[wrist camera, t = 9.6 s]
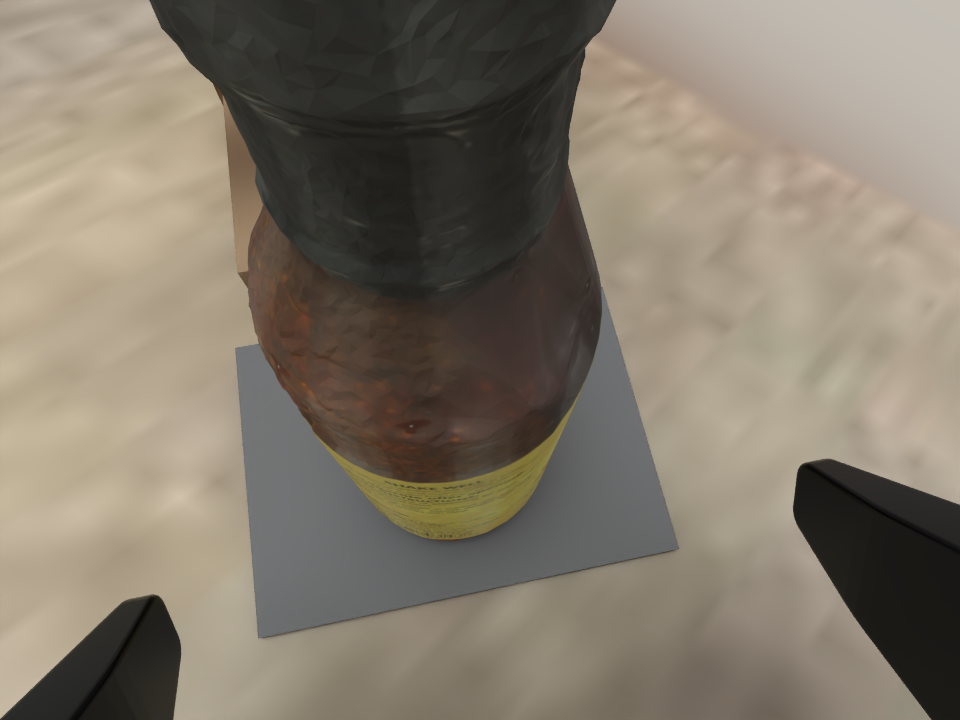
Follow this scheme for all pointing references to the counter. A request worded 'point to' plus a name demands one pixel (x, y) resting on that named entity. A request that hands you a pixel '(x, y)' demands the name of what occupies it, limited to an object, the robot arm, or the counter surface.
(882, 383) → the counter surface
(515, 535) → the charcoal mat
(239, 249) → the bottle rack
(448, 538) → the sauce bottle
